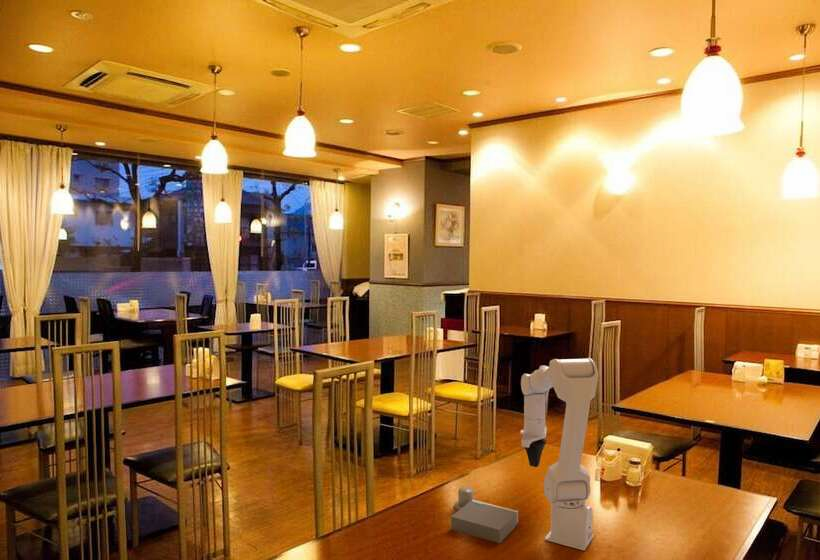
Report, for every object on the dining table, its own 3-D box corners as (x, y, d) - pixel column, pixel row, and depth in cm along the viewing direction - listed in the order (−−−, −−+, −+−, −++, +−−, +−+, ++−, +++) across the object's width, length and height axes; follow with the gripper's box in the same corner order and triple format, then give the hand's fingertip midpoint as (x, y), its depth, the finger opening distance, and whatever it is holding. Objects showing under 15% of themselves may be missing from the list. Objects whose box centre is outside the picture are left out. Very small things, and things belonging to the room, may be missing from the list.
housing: (517, 525, 145) (517, 511, 145) (499, 543, 136) (499, 529, 136) (470, 512, 152) (470, 500, 152) (451, 529, 143) (451, 516, 143)
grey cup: (480, 505, 157) (480, 488, 157) (470, 513, 152) (470, 496, 152) (460, 500, 160) (460, 484, 160) (450, 508, 155) (450, 491, 155)
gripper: (530, 409, 167) (529, 455, 168) (510, 421, 155) (510, 471, 155) (554, 412, 163) (553, 459, 164) (536, 425, 151) (535, 476, 152)
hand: (534, 465), depth 159 cm, fingers closed
